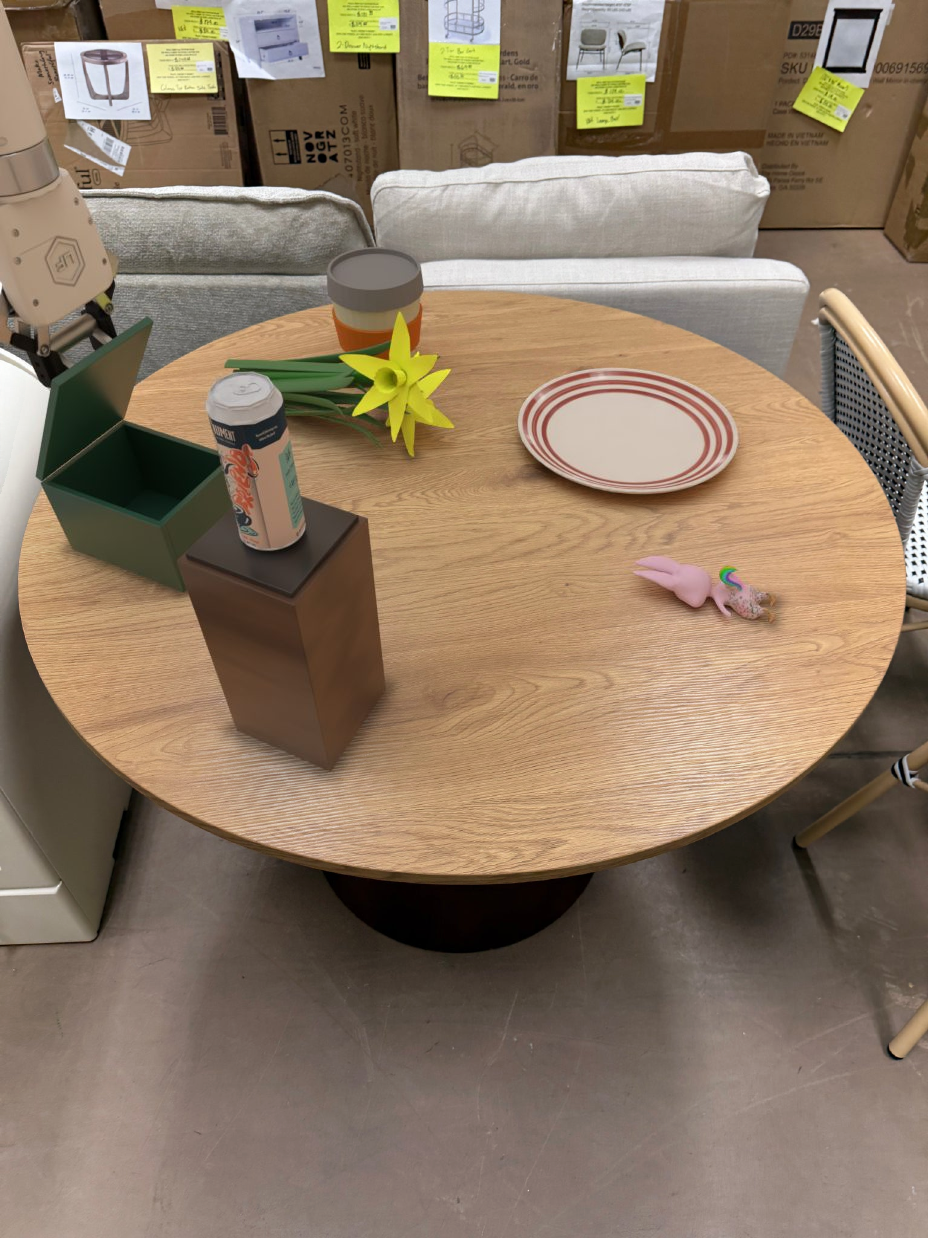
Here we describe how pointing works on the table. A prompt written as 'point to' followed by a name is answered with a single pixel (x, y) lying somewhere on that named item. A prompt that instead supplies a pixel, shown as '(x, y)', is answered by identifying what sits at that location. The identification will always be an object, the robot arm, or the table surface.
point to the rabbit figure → (705, 586)
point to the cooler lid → (89, 389)
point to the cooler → (139, 500)
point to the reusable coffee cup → (375, 296)
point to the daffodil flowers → (359, 385)
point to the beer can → (256, 459)
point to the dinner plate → (628, 430)
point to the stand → (292, 630)
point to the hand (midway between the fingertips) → (83, 368)
